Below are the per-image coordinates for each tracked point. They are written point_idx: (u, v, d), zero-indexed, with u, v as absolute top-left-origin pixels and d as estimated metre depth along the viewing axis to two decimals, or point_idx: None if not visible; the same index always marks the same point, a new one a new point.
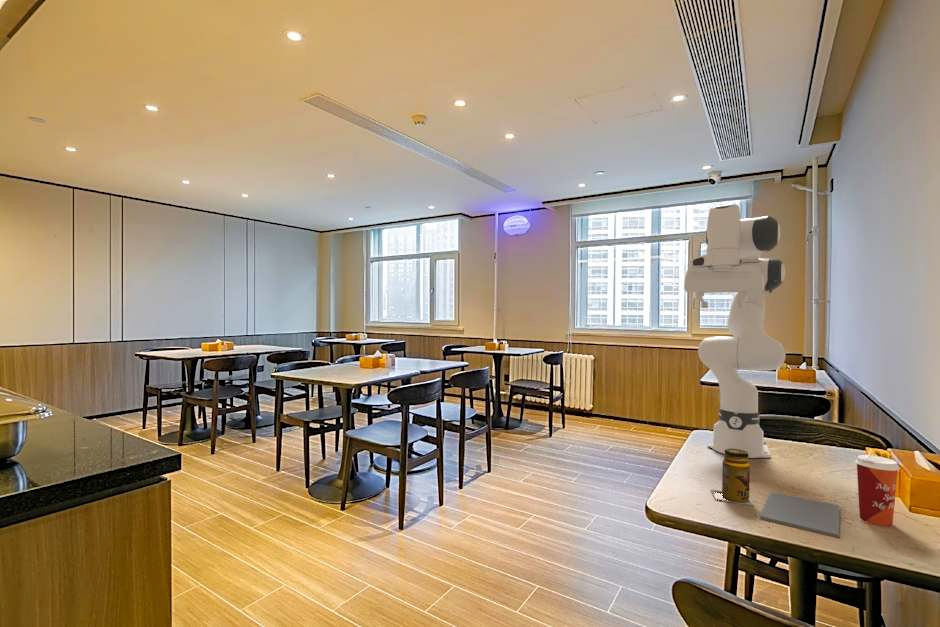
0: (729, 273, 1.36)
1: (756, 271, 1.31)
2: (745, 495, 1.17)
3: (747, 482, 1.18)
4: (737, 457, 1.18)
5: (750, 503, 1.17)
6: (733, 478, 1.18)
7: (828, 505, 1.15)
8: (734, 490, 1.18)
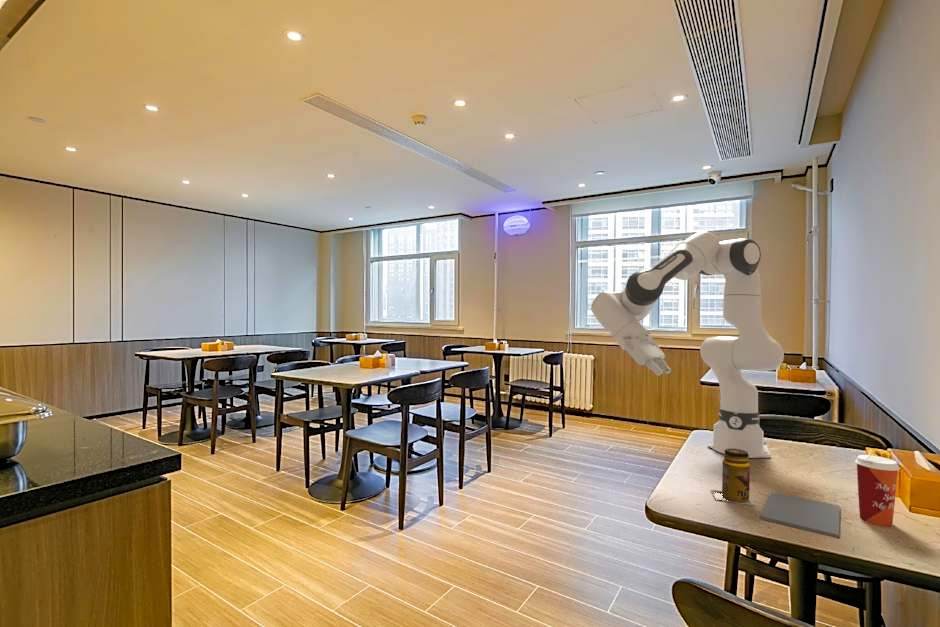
0: None
1: (627, 350, 1.35)
2: (745, 495, 1.17)
3: (747, 482, 1.18)
4: (737, 457, 1.18)
5: (750, 503, 1.17)
6: (733, 478, 1.18)
7: (828, 505, 1.15)
8: (734, 490, 1.18)
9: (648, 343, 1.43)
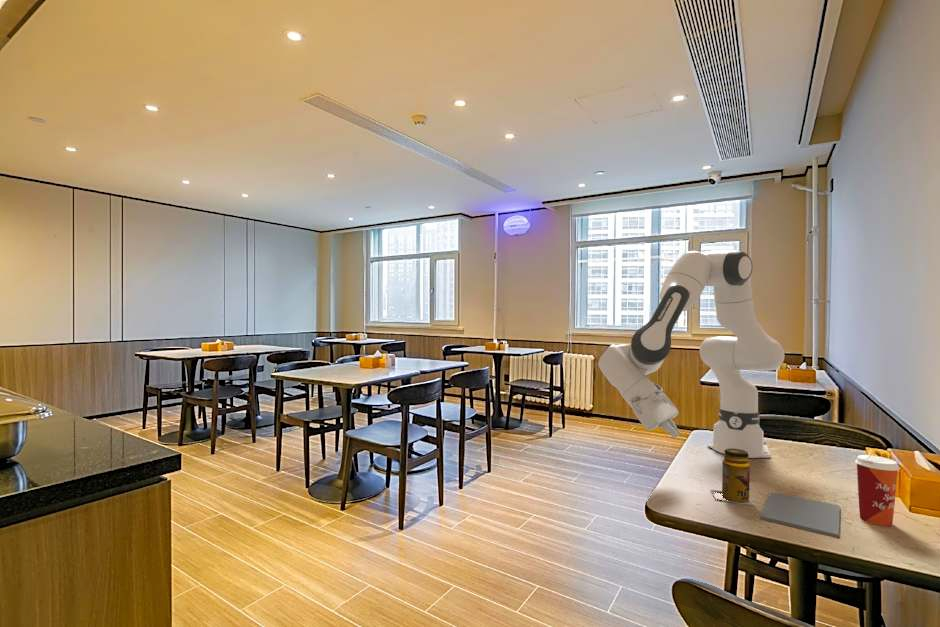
0: None
1: None
2: (745, 495, 1.17)
3: (747, 482, 1.18)
4: (737, 457, 1.18)
5: (750, 503, 1.17)
6: (733, 478, 1.18)
7: (828, 505, 1.15)
8: (734, 490, 1.18)
9: (659, 401, 1.35)
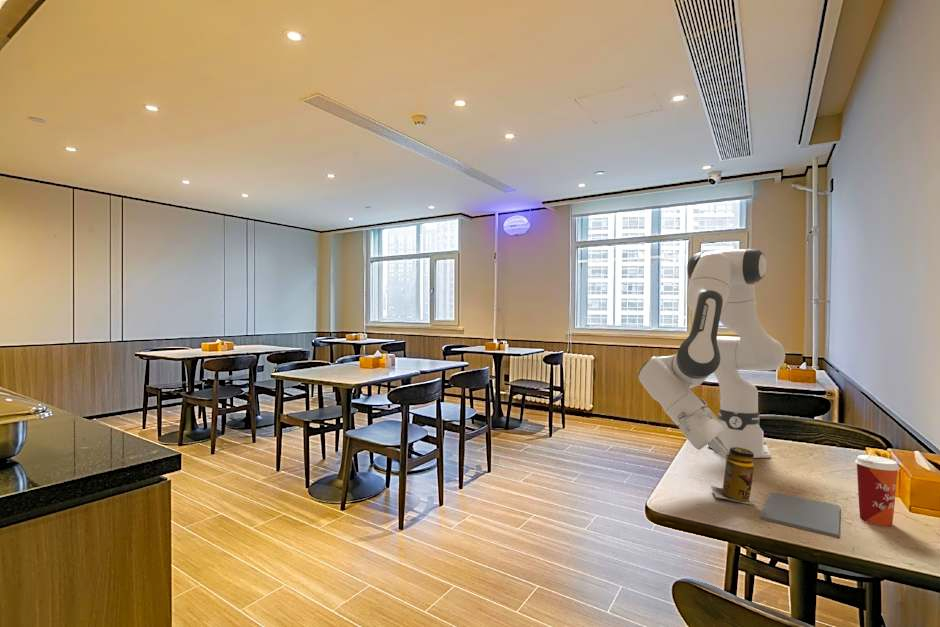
0: None
1: None
2: (746, 494, 1.17)
3: (749, 482, 1.17)
4: (742, 457, 1.17)
5: (750, 503, 1.17)
6: (736, 477, 1.17)
7: (828, 505, 1.15)
8: (735, 489, 1.17)
9: (705, 416, 1.28)
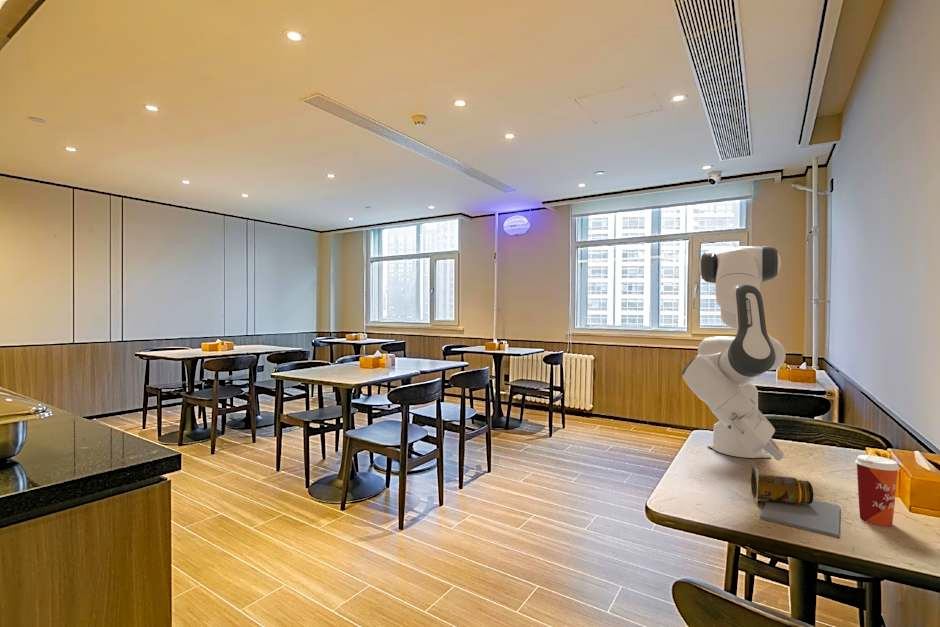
0: None
1: None
2: (764, 497, 1.16)
3: (778, 500, 1.15)
4: (808, 495, 1.13)
5: None
6: (784, 489, 1.14)
7: (828, 505, 1.15)
8: (770, 488, 1.15)
9: (755, 417, 1.21)
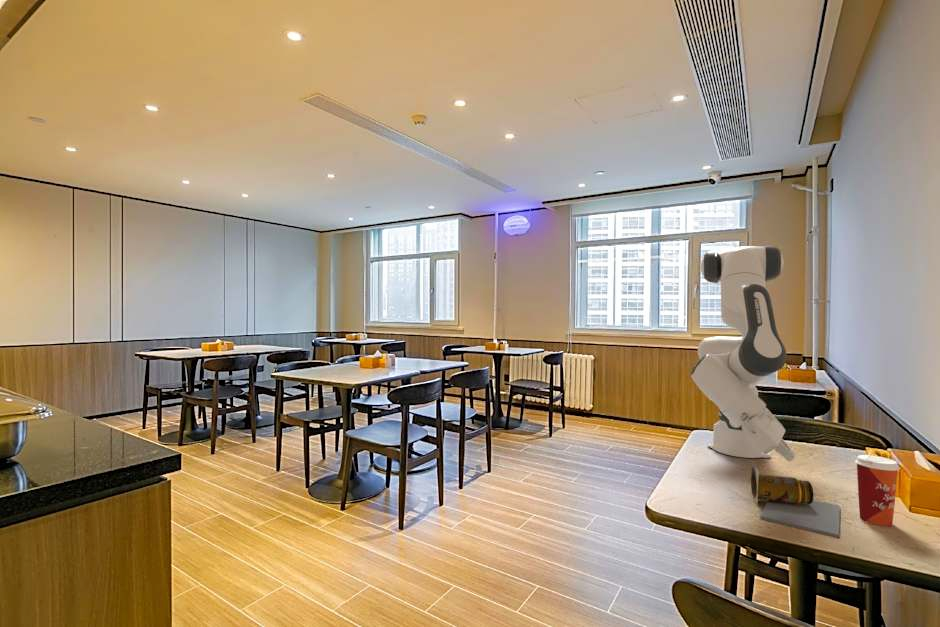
0: None
1: (746, 434, 1.11)
2: (764, 497, 1.16)
3: (778, 500, 1.15)
4: (808, 495, 1.13)
5: None
6: (784, 489, 1.14)
7: (828, 505, 1.15)
8: (770, 488, 1.15)
9: (765, 417, 1.20)
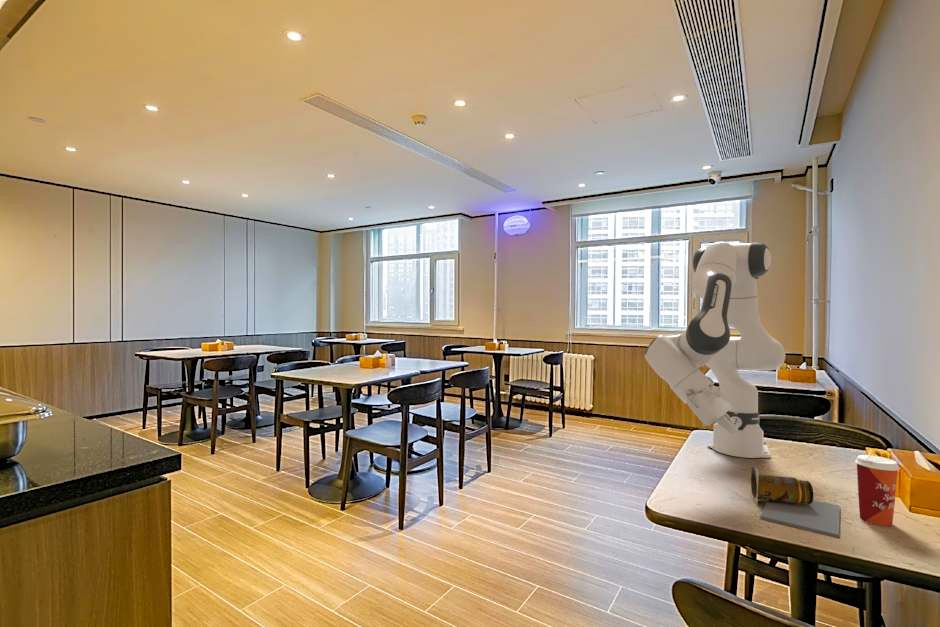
0: None
1: None
2: (764, 497, 1.16)
3: (778, 500, 1.15)
4: (808, 495, 1.13)
5: None
6: (784, 489, 1.14)
7: (828, 505, 1.15)
8: (770, 488, 1.15)
9: (712, 394, 1.27)
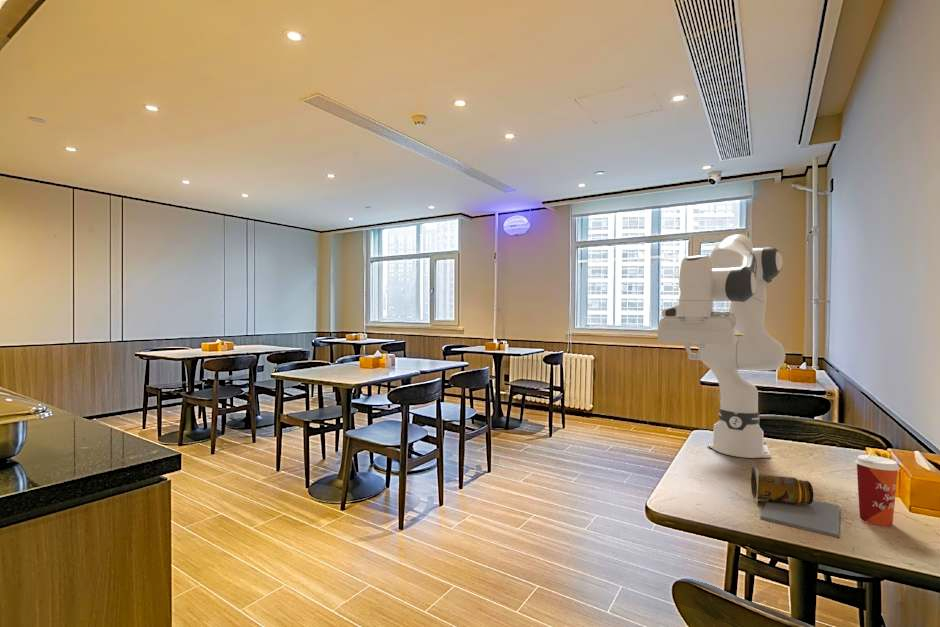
0: (700, 325, 1.35)
1: (727, 325, 1.31)
2: (764, 497, 1.16)
3: (778, 500, 1.15)
4: (808, 495, 1.13)
5: None
6: (784, 489, 1.14)
7: (828, 505, 1.15)
8: (770, 488, 1.15)
9: None
